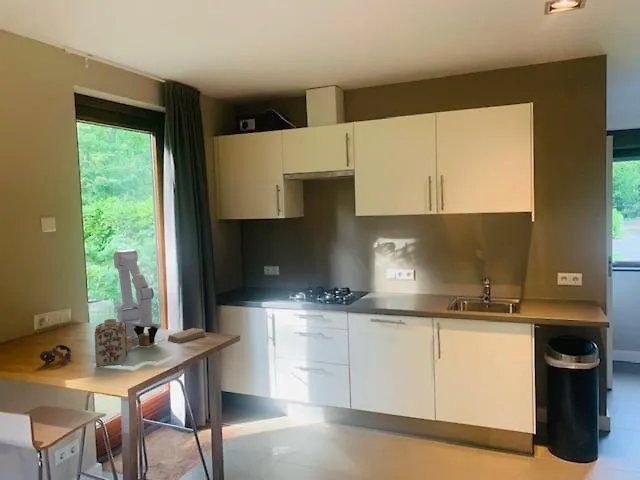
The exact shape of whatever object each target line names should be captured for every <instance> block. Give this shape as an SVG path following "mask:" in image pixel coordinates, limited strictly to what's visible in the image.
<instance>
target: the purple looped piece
mask: <svg viewBox="0 0 640 480" xmlns="http://www.w3.org/2000/svg"><path fill="white" fill-rule="evenodd" d="M58 348H59V349H60V351H59V350H58ZM63 350H64V351H65V350H66V353H64V352H61V351H63ZM64 354H65V355H64ZM71 354H72V350H71V348H70V347H69V346H67V345H64V344H55V345H54V346H53V347H52V348H50V349H49V350H44V351H42V352H41V353H40V355H39V358H40V360H41V361H43V362H45V364H49V363H50V361H55V359H56V357H58V358H61V361H60V364H62V365H64V364H65V363H66V362H67V361H69V360H70V358H71V357H72V356H71Z"/></svg>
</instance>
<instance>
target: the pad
mask: <svg viewBox="0 0 640 480" xmlns="http://www.w3.org/2000/svg"><path fill="white" fill-rule="evenodd" d="M162 341H165V338H164V337H163V338H160V337H155V343H157V344H158V343H159V342H162Z"/></svg>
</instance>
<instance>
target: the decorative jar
mask: <svg viewBox="0 0 640 480" xmlns="http://www.w3.org/2000/svg"><path fill="white" fill-rule="evenodd" d="M126 328H127V327H126V324H125V323H122V322H119V321H117V319H116V318H108V319H105V320H104V322H103V323H101V322H100V323H98V324H97V325H95V329H94V351H95V354H94V355H95V356H94V357H95V365H96V367H97V368H98V367H110V366H120V365H121V364H117V362H118V363H119V362H126V361H127V360H126V358H127V356H128V351H127V329H126Z"/></svg>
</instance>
